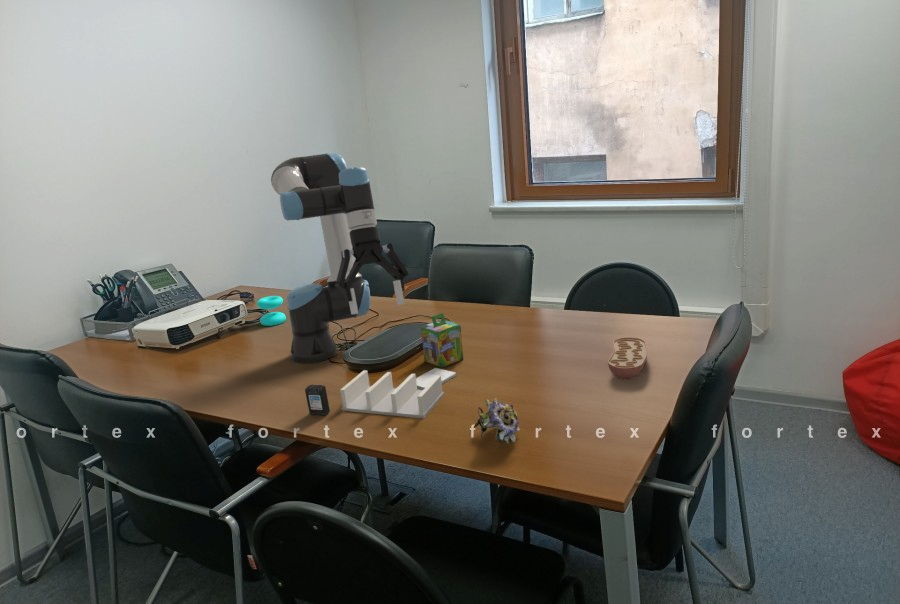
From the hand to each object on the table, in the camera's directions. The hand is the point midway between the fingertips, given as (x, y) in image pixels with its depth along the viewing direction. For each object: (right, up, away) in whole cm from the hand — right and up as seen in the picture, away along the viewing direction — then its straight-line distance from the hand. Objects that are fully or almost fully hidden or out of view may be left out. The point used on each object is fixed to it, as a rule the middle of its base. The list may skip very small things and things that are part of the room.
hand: (378, 309), depth 164 cm
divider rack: (+3, -25, +6) cm, 26 cm away
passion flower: (+29, -30, -17) cm, 45 cm away
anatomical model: (+69, -17, +14) cm, 72 cm away
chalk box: (+17, -16, +32) cm, 40 cm away
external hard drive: (+13, -21, +18) cm, 31 cm away
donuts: (-51, -6, +87) cm, 101 cm away
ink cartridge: (-16, -28, +4) cm, 32 cm away
